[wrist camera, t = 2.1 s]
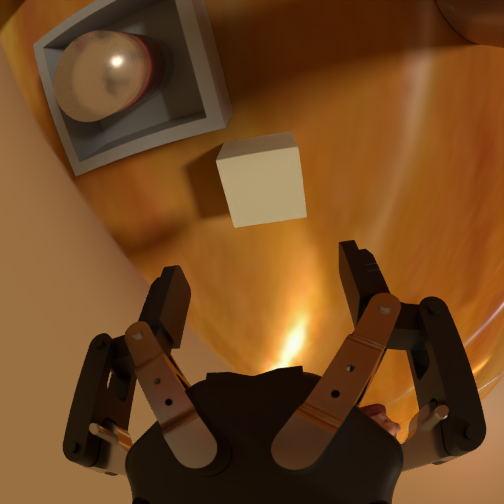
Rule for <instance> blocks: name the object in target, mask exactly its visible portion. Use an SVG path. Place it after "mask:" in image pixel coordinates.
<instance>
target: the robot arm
mask: <svg viewBox="0 0 504 504" xmlns="http://www.w3.org/2000/svg"><path fill="white" fill-rule="evenodd" d="M436 3H437V5H438V7H439V9H440V11H441V12H442V14H443V15H444V17H445V19H446V20H447V21H448V23H449V24H450V25H451V26H452V28H453V29H454V30H455V31H456V32H457V33H458V34H460V35H461V36H462V37H464V38H465V39H467V40H468V41H470V42H472V43H476V44H481V45H488V46H495V47H501V48H504V0H436ZM339 273H340V278H341V282H342V285H343V288H344V292H345V295H346V299H347V302H348V306H349V309H350V313H351V316H352V320H353V324H354V328H355V330H354V332H353V333H352V334H349V335H348V336H347V337H346V339H345V340H344V342H343V344H342V346H341V347H340V349H339V350H338V352H337V354H336V355H335V357H334V359H333V360H332V362H331V363H330V365H329V367H328V368H327V370H326V371H325V373H324V374H323V376H322V377H321V376H319V375H316V374H313V373H308V372H303V368H302V366H295V367H287V368H278V369H275V370H272V371H269V372H265V373H262V374H259V375H256V376H248V375H242V374H237V373H231V372H220V373H207V376H206V380H203V381H200V382H198V383H196V384H194V385H193V386H191V385H190V383H189V382H188V381H187V379H186V378H185V376H184V374H183V373H182V371H181V370H180V368H179V367H178V365H177V363H176V362H175V360H174V358H173V357H172V355H171V349H175V348H176V349H177V348H180V344H181V339H182V335H183V330H184V325H185V321H186V316H187V312H188V307H189V303H190V299H191V290H190V286H189V284H188V282H187V280H186V278H185V275H184V273H183V271H182V269H181V267H180V266H179V265H175V266H168V267H164V269H163V272H162V274H161V277H159V278H157V279H156V280H155V281H154V282H153V284H152V285H151V287H150V290H149V294H148V295H147V298H146V301H145V303H144V306H143V309H142V312H141V314H140V317H139V320H138V322H136V323H133V324H132V325H131V326H129V328H128V329H127V330H126V332H125V335H123V336H120V337H117V338H114V339H112V338H111V337H110V336H109V335H108V334H106V333H102V334H99V335H97V336H96V337H95V338H94V339H93V340H92V341H91V343H90V346H89V349H88V352H87V355H86V358H85V361H84V364H83V367H82V370H81V374H80V377H79V380H78V383H77V387H76V390H75V394H74V398H73V402H72V406H71V409H70V414H69V418H68V423H67V427H66V431H65V436H64V441H63V452H64V455H65V456H66V458H67V459H68V460H70V461H72V462H75V463H77V464H80V465H81V466H83V467H85V468H88V469H91V470H94V471H97V472H100V473H105V474H108V475H111V476H115V475H118V474H120V475H124V476H127V477H128V480H129V483H130V486H131V491H132V498H133V501H132V504H392V496H393V492H394V488H395V485H396V483H397V480H398V478H399V476H400V474H401V472H403V471H407V470H411V469H414V468H418V467H421V466H424V465H427V464H431V463H432V464H435V465H439V464H442V463H445V462H448V461H450V460H453V459H455V458H457V457H460V456H462V455H464V454H466V453H468V452H471V451H473V450H475V449H476V448H478V447H479V446H480V445H481V443H482V442H483V440H484V438H485V435H486V424H485V420H484V414H483V410H482V406H481V402H480V398H479V394H478V390H477V387H476V383H475V380H474V376H473V373H472V370H471V367H470V364H469V361H468V358H467V355H466V352H465V349H464V347H463V344H462V341H461V339H460V336H459V333H458V331H457V328H456V326H455V323H454V321H453V319H452V316H451V314H450V312H449V309H448V307H447V305H446V304H445V302H444V301H443V300H441V299H439V298H437V297H426V298H424V299H423V300H422V301H421V302H420V305H418V304H406V303H402V302H400V301H399V299H398V298H397V297H395V296H394V295H392V294H391V293H390V291H389V289H388V287H387V284H386V282H385V280H384V278H383V275H382V273H381V271H380V270H379V267H378V264H377V262H376V260H375V258H374V256H373V254H371V253H370V252H369V251H368V250H367V249H361V250H359V249H358V247H357V245H356V242H355V241H354V240H350V241H343V242H339ZM387 349H397V350H406V352H407V356H408V360H409V364H410V368H411V372H412V377H413V381H414V386H415V390H416V395H417V400H418V406H419V412H418V413H417V414H416V415H415V416H414V417H413V418H412V419H411V421H410V424H409V433H408V437H407V439H406V441H405V442H404V443H403V444H400V443H399V442H398V440H397V439H396V438H395V437H394V436H393V435H392V434H390V433H389V432H388V431H387V430H386V429H384V428H383V427H382V426H381V425H380V424H378V423H377V422H376V421H375V420H374V419H372V418H371V417H370V416H369V415H368V414H366V413H365V412H364V411H363V410H362V409H361V408H359V405H360V403H361V401H362V400H363V398H364V396H365V394H366V392H367V390H368V388H369V386H370V384H371V382H372V380H373V378H374V376H375V374H376V372H377V370H378V368H379V366H380V364H381V362H382V360H383V357H384V355H385V353H386V351H387ZM110 372H111V373H112V374H111V378H110V383H109V387H108V388H107V382H108V377H109V373H110ZM137 379H138V381H139V383H140V386H141V388H142V390H143V392H144V394H145V396H146V398H147V400H148V402H149V404H150V407H151V409H152V410H153V412H154V414H155V416H156V418H157V421H156V422H155V423H154V424H153V425H152V426H151V427H150V428H149V429H148V430H147V431H146V433H144V434H143V435H142V436H141V437H140V438H139V439H138V440H137V441H136V442H135V443H134V444H133V443H132V440H131V437H130V434H129V433H128V425H129V419H130V413H131V406H132V401H133V395H134V390H135V385H136V380H137Z"/></svg>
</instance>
